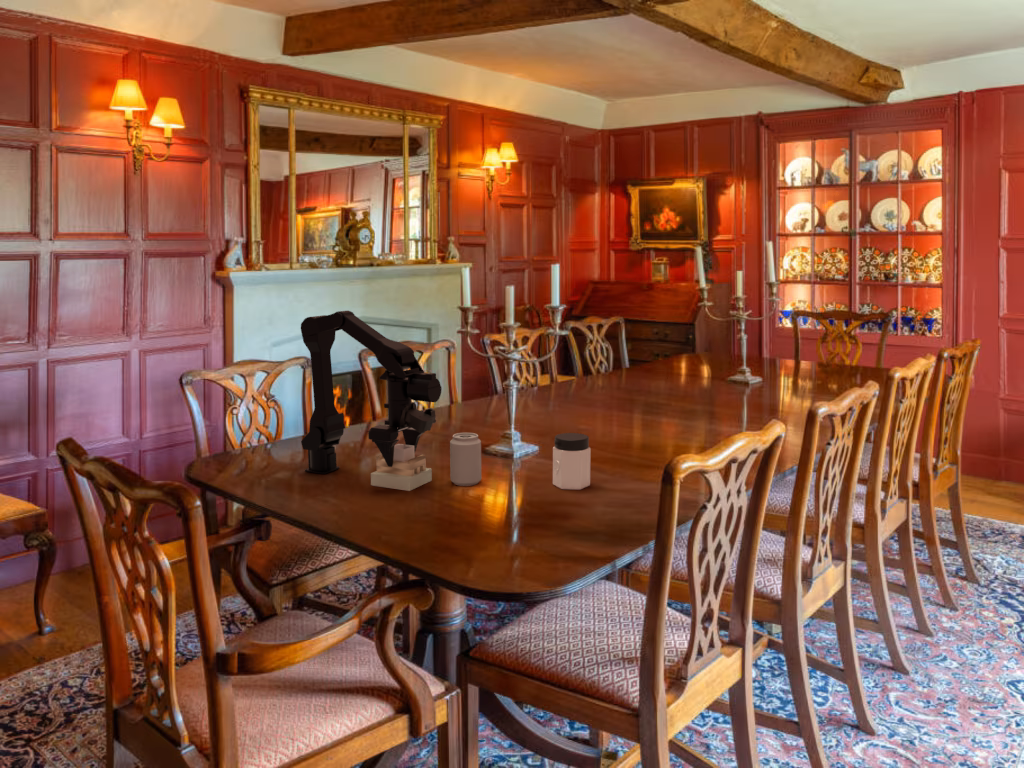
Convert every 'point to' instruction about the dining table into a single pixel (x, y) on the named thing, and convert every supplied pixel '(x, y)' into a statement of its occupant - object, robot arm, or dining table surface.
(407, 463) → the castle tower
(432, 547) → the dining table surface
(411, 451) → the pale pink square block
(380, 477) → the dock
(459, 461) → the can
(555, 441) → the jar
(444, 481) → the dining table surface
